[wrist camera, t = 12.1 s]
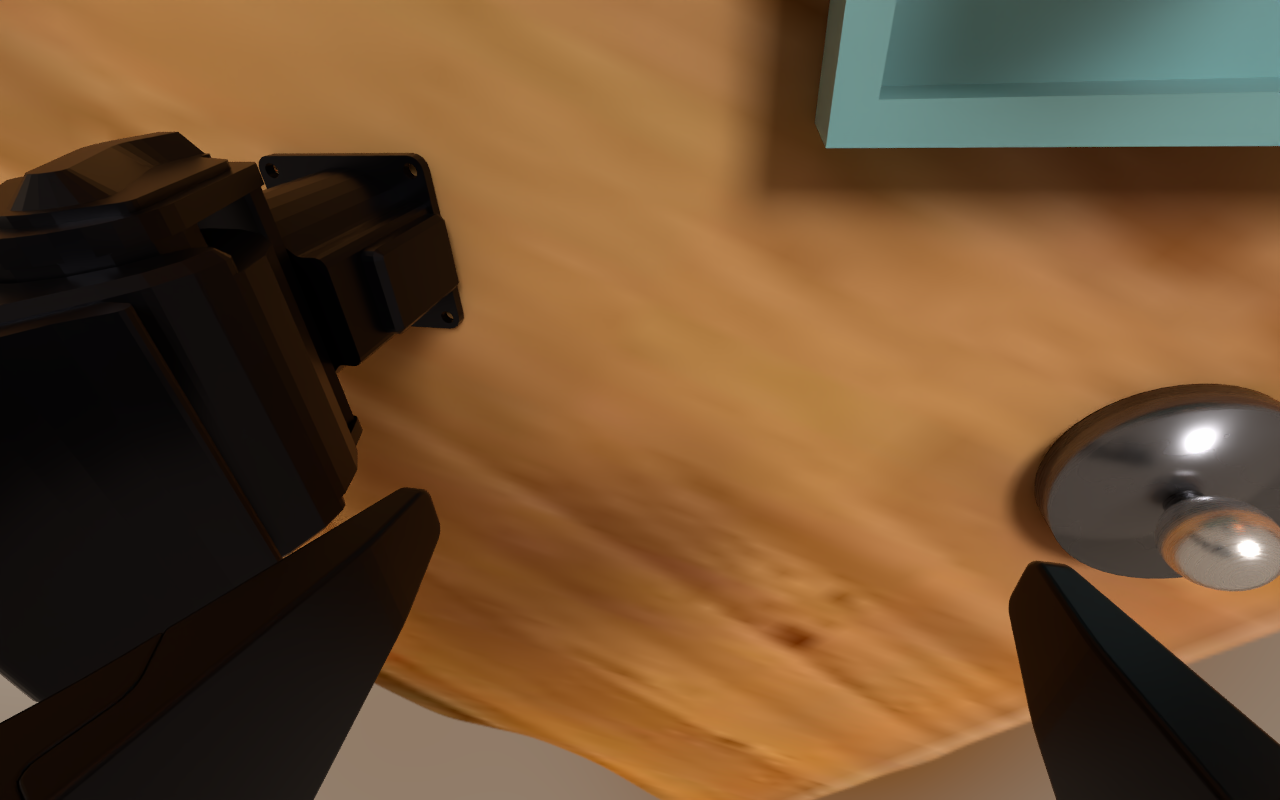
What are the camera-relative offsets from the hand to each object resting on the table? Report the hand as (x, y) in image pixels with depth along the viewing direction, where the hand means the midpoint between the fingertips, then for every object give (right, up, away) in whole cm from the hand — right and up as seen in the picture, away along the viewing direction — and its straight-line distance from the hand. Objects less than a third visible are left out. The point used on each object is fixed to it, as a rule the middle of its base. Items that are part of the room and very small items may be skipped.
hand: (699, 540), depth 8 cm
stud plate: (+18, -1, +12) cm, 22 cm away
